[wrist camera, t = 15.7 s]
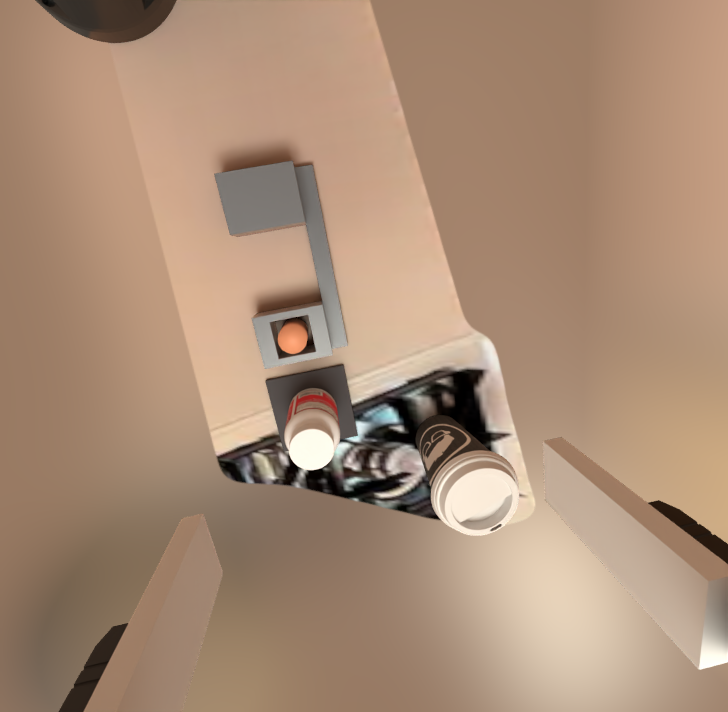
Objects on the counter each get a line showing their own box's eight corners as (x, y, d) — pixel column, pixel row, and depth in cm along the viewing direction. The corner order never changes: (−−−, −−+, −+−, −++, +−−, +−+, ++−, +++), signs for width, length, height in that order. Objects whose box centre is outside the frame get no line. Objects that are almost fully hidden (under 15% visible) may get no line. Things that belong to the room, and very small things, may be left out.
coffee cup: (408, 472, 55) (440, 550, 40) (401, 410, 52) (433, 469, 38) (473, 461, 55) (527, 533, 41) (469, 399, 53) (526, 453, 38)
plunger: (279, 321, 47) (274, 328, 42) (305, 316, 47) (303, 322, 42) (285, 346, 48) (281, 356, 43) (310, 341, 48) (309, 350, 43)
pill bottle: (312, 439, 51) (310, 487, 40) (279, 408, 50) (268, 450, 39) (346, 409, 51) (354, 449, 40) (314, 376, 49) (313, 410, 38)
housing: (223, 181, 43) (214, 173, 39) (312, 166, 43) (311, 157, 40) (269, 359, 48) (264, 368, 44) (347, 344, 49) (349, 351, 45)
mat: (266, 380, 49) (265, 381, 48) (343, 364, 50) (343, 365, 49) (284, 449, 52) (283, 451, 51) (357, 433, 52) (357, 435, 52)
